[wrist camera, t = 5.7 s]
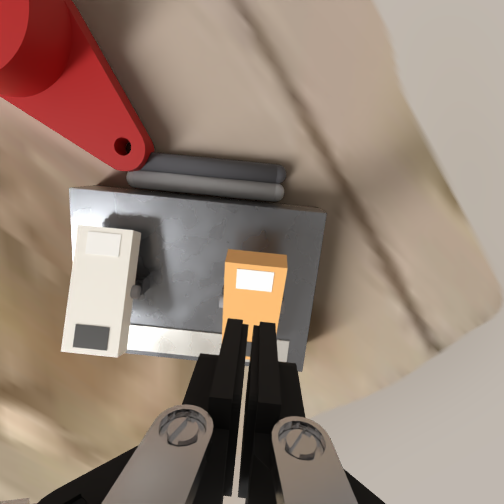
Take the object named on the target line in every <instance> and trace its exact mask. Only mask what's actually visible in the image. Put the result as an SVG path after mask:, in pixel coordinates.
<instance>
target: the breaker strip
mask: <svg viewBox="0 0 504 504" xmlns="http://www.w3.org/2000/svg"><path fill="white" fill-rule="evenodd" d="M69 195H70V215H71V235H72V254H73V259H74V251H75V244H76V236H77V229H78V225H86V226H96V227H106V228H116V229H126V230H134V231H137V232H140V233H141V239H140V247H139V255H138V263H137V271H136V279H135V285H137V286H140V287H141V293H140V296H139V298H138V299H133V304H132V312H131V320H130V328H129V336H128V344H127V352H125V353H130V354H139V355H149V356H158V357H168V358H177V359H187V360H196V361H197V360H198V357H199V355H200V353H204V354H213V355H219V353H220V349H221V344H222V323H223V308H219V301H220V295H221V294H224V274H225V260H226V256H227V252H228V249H233V250H243V251H253V252H263V253H273V254H283V255H287V267H288V269H287V275H286V281H285V286H284V292H283V298H282V300H283V301H285V309H284V314H280V316H279V322H278V328H277V334H276V338H277V351H278V361H280V362H289V363H296V365H297V371H300V372H302V370H303V363H304V357H305V350H306V344H307V337H308V331H309V324H310V318H311V311H312V305H313V299H314V292H315V286H316V279H317V273H318V266H319V260H320V253H321V247H322V240H323V234H324V228H325V221H326V215H327V213H325V212H324V211H323V210H321V209H320V208H318V207H309V206H299V205H289V204H279V203H269V202H259V201H249V200H239V199H229V198H218V197H208V196H198V195H188V194H178V193H168V192H158V191H148V190H138V189H128V188H118V187H108V186H98V185H94V186H83V187H72V188H69ZM249 362H250V360H248V359H245V366H249Z"/></svg>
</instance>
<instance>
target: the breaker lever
mask: <svg viewBox="0 0 504 504" xmlns="http://www.w3.org/2000/svg"><path fill="white" fill-rule="evenodd" d="M287 269H288V267H287V255H283V254H273V253H263V252H253V251H243V250H233V249H228V252H227V256H226V260H225V274H224V294H221V295H220V301H219V308H223V323H222V340H223V336H224V332H225V328H226V324H227V319H228V318H231V319H241V320H243V324H249V326H248V337H247V347H246V357H245V359H248V360H250V353H251V344H252V334H253V326H254V325H259V324H260V322H269V323H275V324H276V334H277V328H278V322H279V316H280V314H284V309H285V301H283V300H282V298H283V292H284V286H285V281H286V275H287Z"/></svg>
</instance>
